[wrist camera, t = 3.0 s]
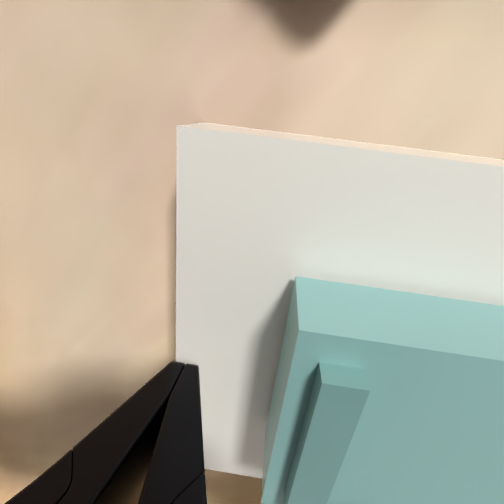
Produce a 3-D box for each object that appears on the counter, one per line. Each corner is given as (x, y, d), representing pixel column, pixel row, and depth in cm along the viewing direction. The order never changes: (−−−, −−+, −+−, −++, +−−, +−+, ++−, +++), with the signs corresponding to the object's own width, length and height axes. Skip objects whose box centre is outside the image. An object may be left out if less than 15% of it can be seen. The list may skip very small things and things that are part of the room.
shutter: (539, 311, 8) (657, 404, 6) (446, 460, 11) (496, 569, 9) (295, 276, 9) (299, 349, 6) (265, 430, 12) (259, 526, 9)
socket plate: (800, 195, 10) (1002, 229, 7) (560, 465, 16) (619, 540, 13) (204, 122, 10) (176, 125, 8) (193, 405, 16) (175, 463, 14)
